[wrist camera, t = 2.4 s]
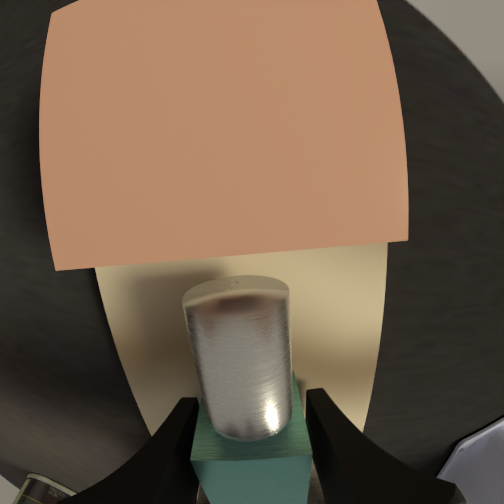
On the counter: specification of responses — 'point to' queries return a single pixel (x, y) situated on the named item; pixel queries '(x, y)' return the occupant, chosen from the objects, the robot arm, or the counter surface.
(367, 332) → the board
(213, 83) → the socket
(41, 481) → the coffee can
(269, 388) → the tube
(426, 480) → the robot arm
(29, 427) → the counter surface
